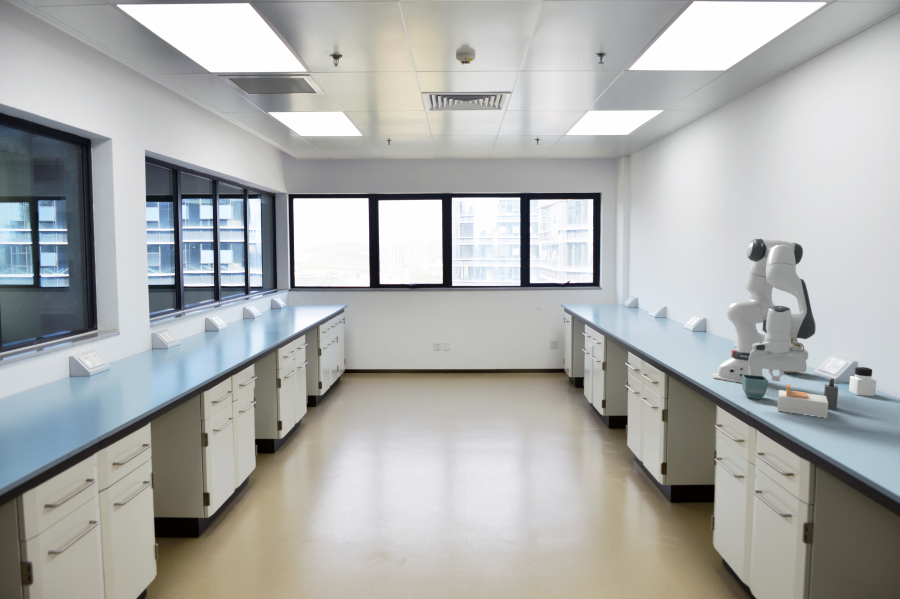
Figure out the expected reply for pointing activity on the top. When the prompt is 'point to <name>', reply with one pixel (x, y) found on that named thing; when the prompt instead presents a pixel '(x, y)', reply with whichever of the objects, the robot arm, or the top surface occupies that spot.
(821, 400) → the socket
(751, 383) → the flower pot
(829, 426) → the top surface
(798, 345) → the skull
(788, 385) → the shutter
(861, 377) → the medicine bottle
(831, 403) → the plug
